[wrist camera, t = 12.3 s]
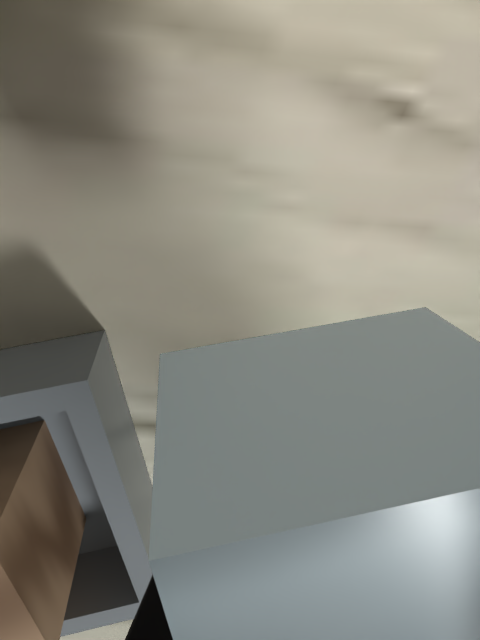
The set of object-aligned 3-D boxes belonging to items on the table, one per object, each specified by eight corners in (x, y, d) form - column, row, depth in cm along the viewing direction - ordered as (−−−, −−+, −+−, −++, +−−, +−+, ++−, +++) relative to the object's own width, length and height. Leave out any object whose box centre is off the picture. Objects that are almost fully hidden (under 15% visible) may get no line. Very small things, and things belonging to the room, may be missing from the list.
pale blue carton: (408, 557, 11) (530, 772, 7) (216, 602, 10) (240, 856, 7) (425, 307, 8) (647, 451, 4) (159, 353, 7) (148, 560, 4)
